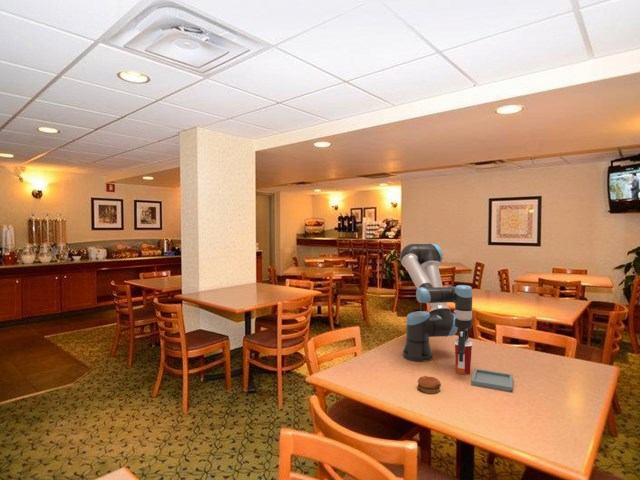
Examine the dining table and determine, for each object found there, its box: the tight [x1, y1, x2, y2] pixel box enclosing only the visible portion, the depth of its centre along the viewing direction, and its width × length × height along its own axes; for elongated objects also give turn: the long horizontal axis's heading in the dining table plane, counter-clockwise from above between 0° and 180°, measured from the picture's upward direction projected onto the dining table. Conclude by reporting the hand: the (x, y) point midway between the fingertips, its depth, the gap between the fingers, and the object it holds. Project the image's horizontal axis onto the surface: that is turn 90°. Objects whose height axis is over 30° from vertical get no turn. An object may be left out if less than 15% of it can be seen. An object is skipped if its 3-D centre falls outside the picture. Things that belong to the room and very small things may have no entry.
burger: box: [417, 375, 442, 395], centre depth 161 cm, size 10×9×5 cm
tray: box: [470, 368, 514, 393], centre depth 168 cm, size 16×16×2 cm
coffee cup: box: [453, 338, 473, 375], centre depth 179 cm, size 8×8×15 cm
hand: (463, 363), depth 179 cm, fingers open, 13 cm apart
